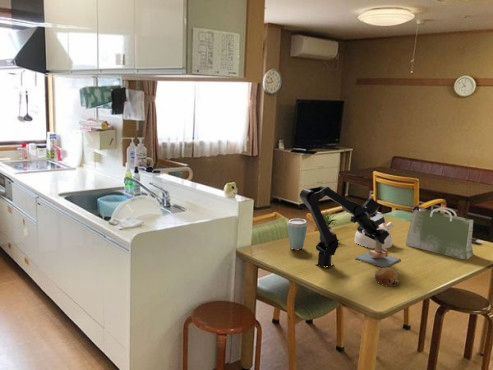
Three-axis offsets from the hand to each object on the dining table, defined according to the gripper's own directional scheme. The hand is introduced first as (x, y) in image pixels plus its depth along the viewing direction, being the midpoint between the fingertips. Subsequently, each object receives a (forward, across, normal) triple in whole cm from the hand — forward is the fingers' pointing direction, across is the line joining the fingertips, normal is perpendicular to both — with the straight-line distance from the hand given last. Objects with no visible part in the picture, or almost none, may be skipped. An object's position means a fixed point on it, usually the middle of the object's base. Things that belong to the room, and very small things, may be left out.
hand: (381, 242), depth 217 cm
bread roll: (-4, -25, +17) cm, 30 cm away
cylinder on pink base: (+4, 0, +6) cm, 7 cm away
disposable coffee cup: (-17, +25, +30) cm, 43 cm away
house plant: (-1, +38, +14) cm, 40 cm away
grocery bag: (+36, +6, -23) cm, 43 cm away
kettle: (+16, +24, -3) cm, 28 cm away
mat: (+5, 0, +7) cm, 9 cm away
